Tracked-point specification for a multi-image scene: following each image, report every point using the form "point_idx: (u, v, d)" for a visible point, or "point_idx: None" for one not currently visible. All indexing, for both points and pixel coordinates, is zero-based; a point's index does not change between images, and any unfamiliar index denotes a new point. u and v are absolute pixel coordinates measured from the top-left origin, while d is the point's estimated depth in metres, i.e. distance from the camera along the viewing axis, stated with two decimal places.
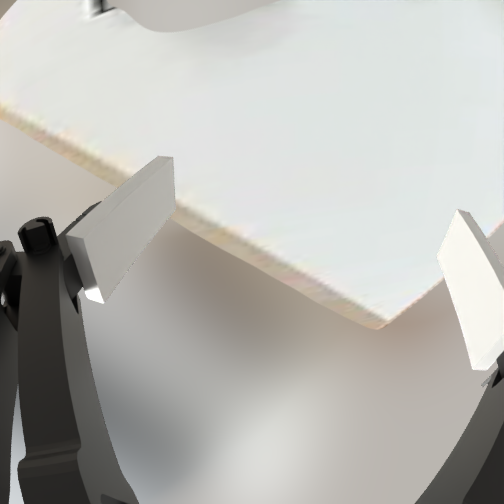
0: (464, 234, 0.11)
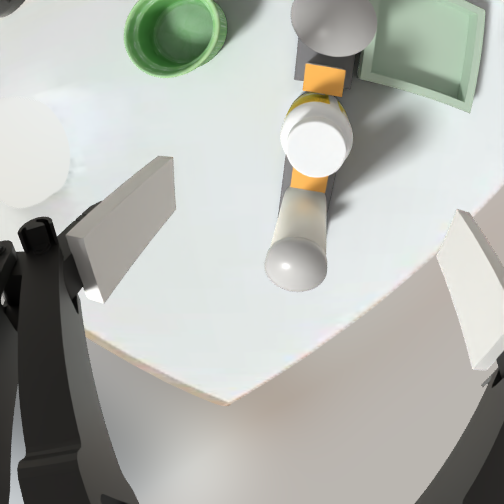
0: (464, 233, 0.11)
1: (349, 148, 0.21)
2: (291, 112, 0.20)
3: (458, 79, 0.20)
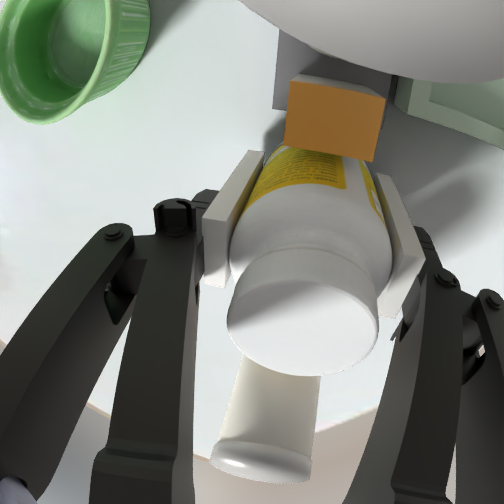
0: (378, 192, 0.13)
1: (380, 293, 0.09)
2: (250, 212, 0.09)
3: None
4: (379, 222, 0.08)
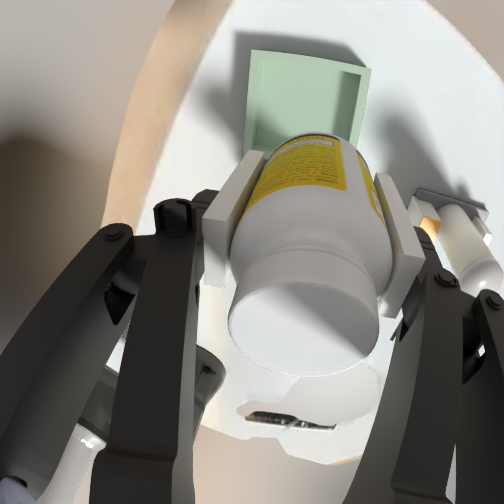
0: (378, 192, 0.13)
1: (380, 294, 0.09)
2: (251, 214, 0.09)
3: (338, 71, 0.24)
4: (379, 223, 0.08)
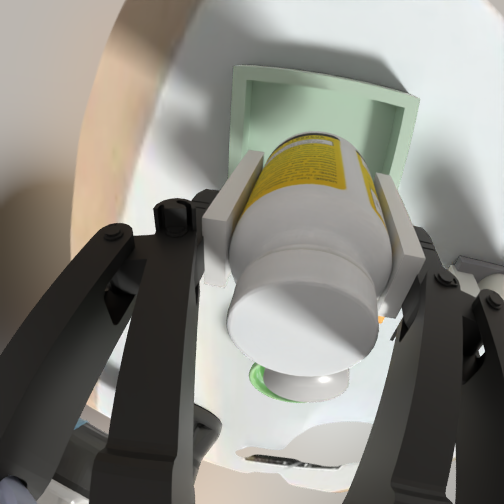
0: (378, 192, 0.13)
1: (380, 293, 0.09)
2: (250, 213, 0.09)
3: (367, 98, 0.16)
4: (379, 222, 0.08)
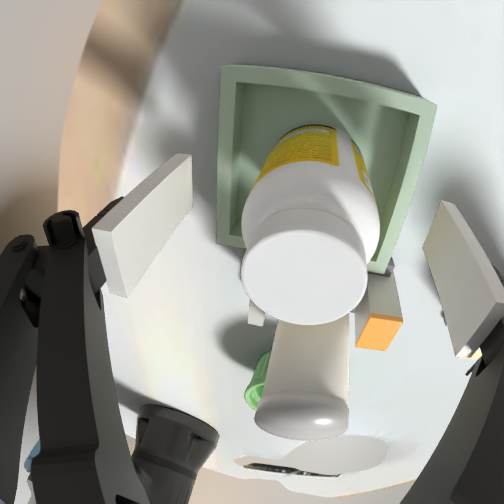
0: (448, 223, 0.11)
1: (371, 255, 0.11)
2: (260, 184, 0.11)
3: (375, 103, 0.14)
4: (367, 192, 0.10)
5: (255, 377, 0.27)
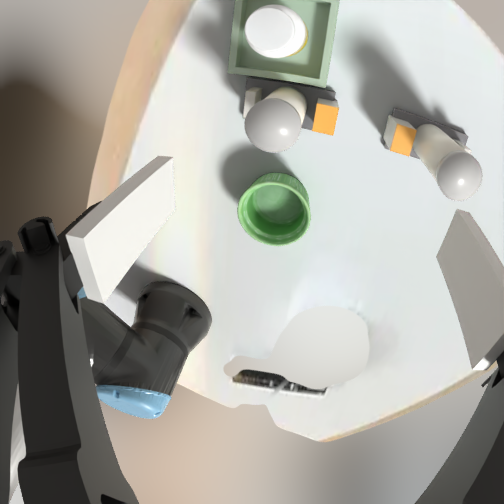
0: (464, 233, 0.11)
1: (301, 36, 0.21)
2: (253, 12, 0.21)
3: (312, 3, 0.24)
4: (296, 13, 0.20)
5: None
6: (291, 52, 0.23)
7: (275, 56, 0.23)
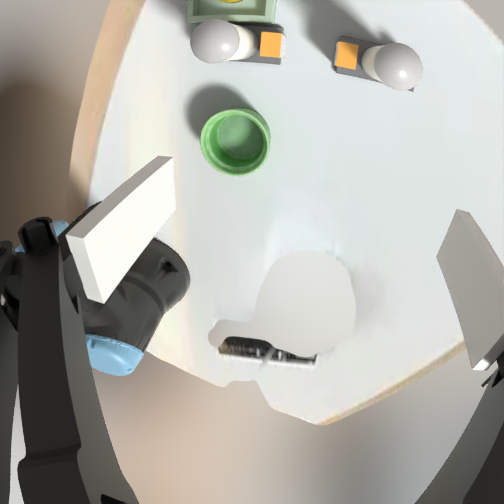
0: (464, 233, 0.11)
1: None
2: None
3: None
4: None
5: None
6: None
7: None
